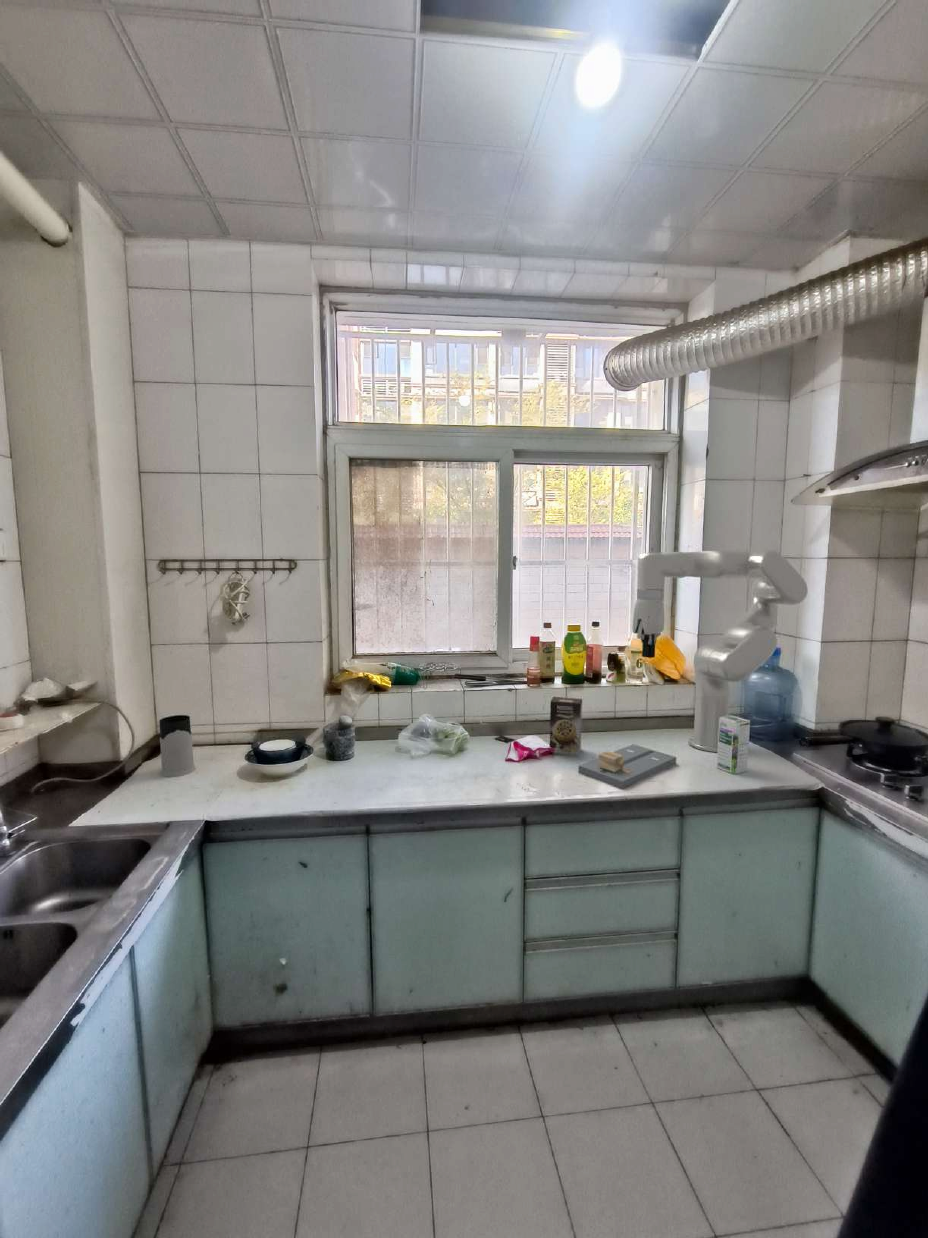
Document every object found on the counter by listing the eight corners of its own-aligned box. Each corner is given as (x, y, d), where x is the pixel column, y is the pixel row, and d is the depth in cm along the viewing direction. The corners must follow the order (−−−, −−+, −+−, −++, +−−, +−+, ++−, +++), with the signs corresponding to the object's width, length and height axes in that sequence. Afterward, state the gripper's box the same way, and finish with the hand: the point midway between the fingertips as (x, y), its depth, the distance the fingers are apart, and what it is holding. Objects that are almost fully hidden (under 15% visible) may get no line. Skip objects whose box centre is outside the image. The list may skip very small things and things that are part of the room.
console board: (632, 750, 164) (633, 743, 164) (676, 763, 153) (676, 756, 153) (578, 772, 147) (578, 765, 147) (622, 789, 137) (622, 781, 136)
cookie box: (548, 753, 162) (549, 701, 160) (551, 746, 168) (552, 695, 166) (579, 756, 159) (580, 703, 158) (581, 749, 165) (582, 697, 164)
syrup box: (715, 767, 150) (718, 717, 148) (729, 764, 153) (732, 714, 151) (734, 775, 145) (736, 722, 143) (748, 771, 148) (751, 719, 146)
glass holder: (162, 779, 145) (158, 725, 143) (155, 764, 156) (152, 713, 155) (198, 772, 150) (195, 719, 148) (189, 757, 161) (186, 708, 160)
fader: (607, 763, 148) (607, 750, 148) (623, 768, 144) (623, 755, 144) (598, 766, 146) (598, 754, 145) (614, 772, 142) (614, 759, 141)
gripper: (652, 593, 165) (651, 652, 167) (624, 596, 156) (622, 658, 158) (675, 594, 159) (673, 655, 161) (647, 597, 150) (645, 662, 152)
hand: (648, 657), depth 159 cm, fingers closed
